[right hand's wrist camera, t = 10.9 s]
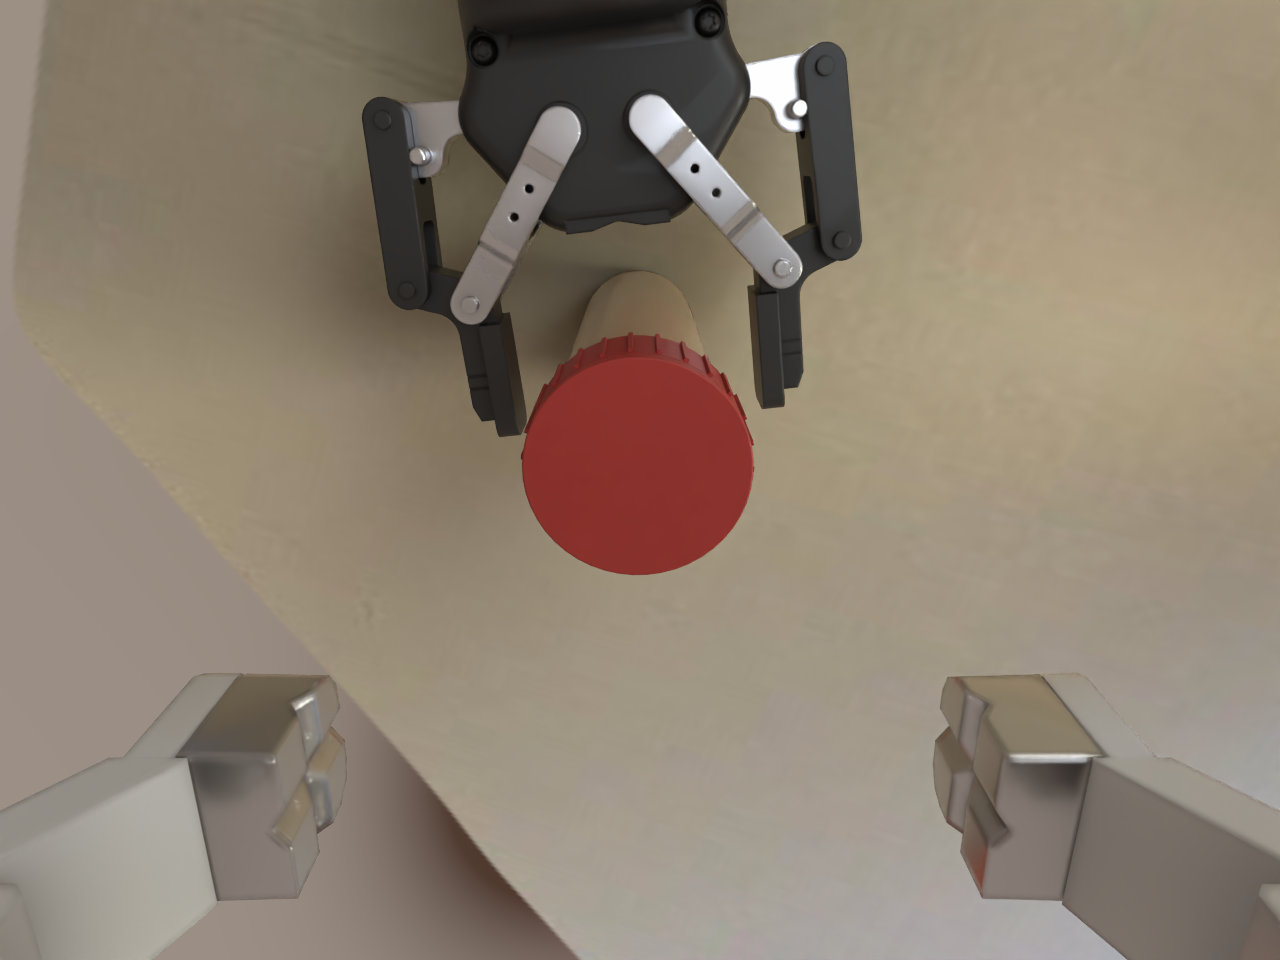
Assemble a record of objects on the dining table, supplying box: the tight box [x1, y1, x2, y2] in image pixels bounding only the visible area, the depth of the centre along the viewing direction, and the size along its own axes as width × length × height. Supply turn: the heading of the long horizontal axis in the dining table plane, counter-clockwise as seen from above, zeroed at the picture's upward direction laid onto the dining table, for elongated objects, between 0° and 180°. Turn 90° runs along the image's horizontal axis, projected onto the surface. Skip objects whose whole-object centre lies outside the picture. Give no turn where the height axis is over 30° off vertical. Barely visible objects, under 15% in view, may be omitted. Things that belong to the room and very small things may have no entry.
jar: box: [569, 271, 706, 360], centre depth 27 cm, size 4×4×17 cm
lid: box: [521, 332, 754, 575], centre depth 20 cm, size 5×5×2 cm
